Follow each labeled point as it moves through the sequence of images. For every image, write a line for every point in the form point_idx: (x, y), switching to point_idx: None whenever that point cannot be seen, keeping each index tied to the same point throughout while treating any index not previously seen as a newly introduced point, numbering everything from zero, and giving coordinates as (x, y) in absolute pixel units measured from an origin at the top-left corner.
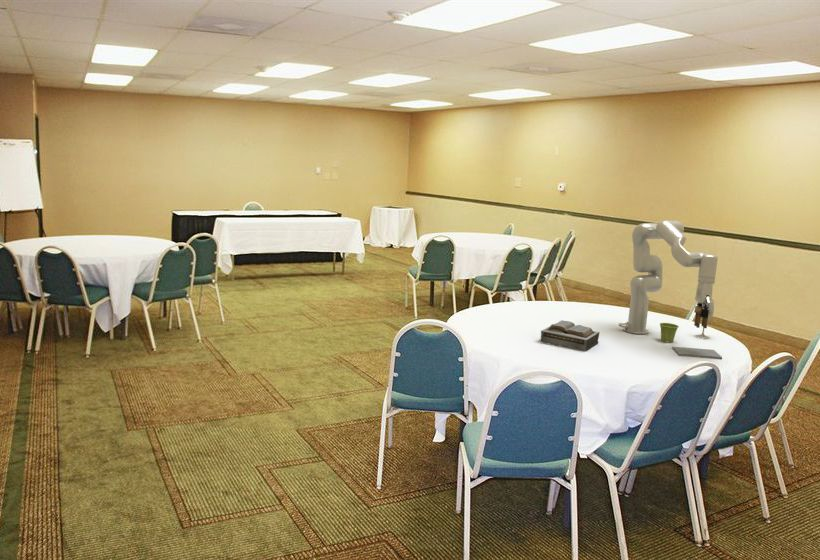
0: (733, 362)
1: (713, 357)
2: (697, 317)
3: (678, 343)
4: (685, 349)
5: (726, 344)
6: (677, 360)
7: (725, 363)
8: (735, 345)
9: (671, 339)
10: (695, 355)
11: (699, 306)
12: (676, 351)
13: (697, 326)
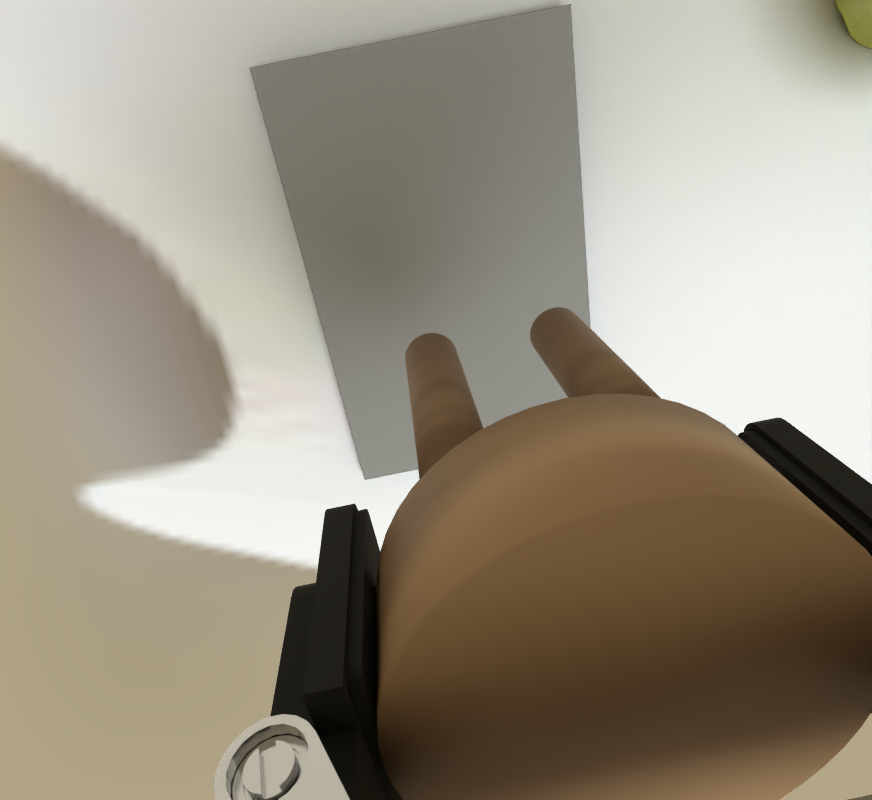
0: (316, 538)
1: (346, 413)
2: (452, 418)
3: (809, 111)
4: (489, 165)
5: None
6: (14, 33)
7: (243, 485)
8: None
9: (860, 12)
10: (304, 257)
11: (826, 628)
12: (364, 45)
13: (406, 357)
